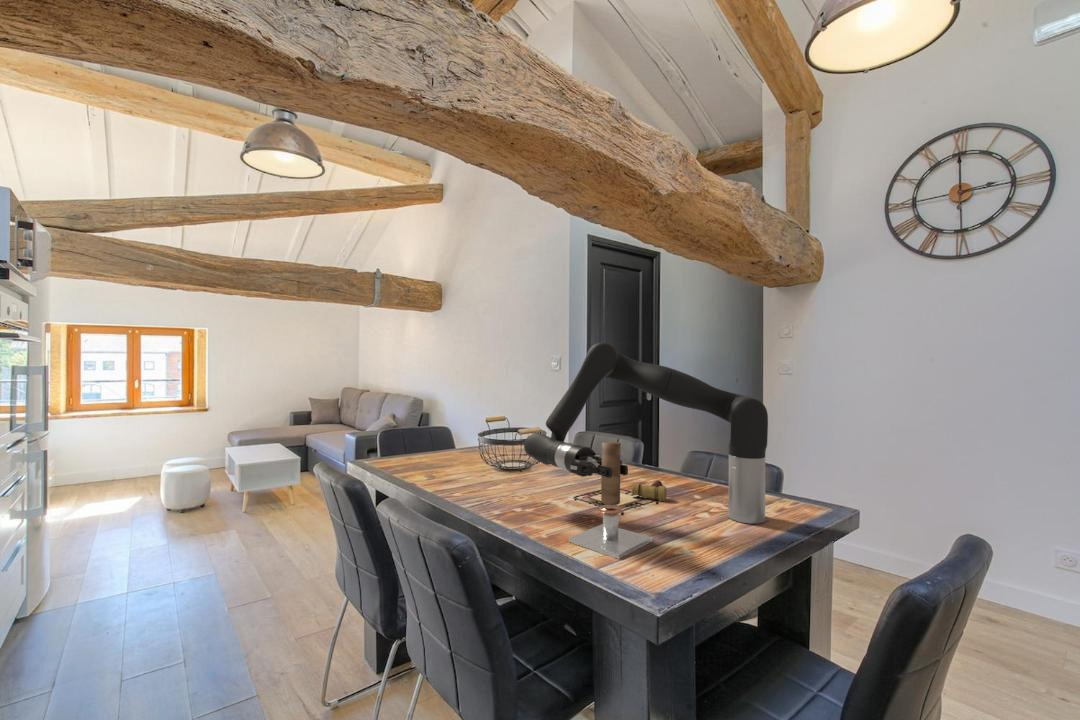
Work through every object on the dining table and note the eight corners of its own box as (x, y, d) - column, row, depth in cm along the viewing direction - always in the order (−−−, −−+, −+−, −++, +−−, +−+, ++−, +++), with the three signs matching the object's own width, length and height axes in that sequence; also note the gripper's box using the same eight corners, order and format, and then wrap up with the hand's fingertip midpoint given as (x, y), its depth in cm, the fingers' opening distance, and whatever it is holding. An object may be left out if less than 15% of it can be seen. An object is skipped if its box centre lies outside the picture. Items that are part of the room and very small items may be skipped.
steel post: (603, 527, 124) (603, 496, 124) (652, 541, 114) (652, 507, 114) (568, 542, 114) (569, 508, 114) (618, 558, 104) (619, 521, 104)
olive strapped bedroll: (645, 474, 170) (674, 477, 166) (645, 487, 170) (674, 491, 166) (631, 484, 151) (664, 487, 147) (631, 499, 151) (664, 503, 147)
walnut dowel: (608, 498, 117) (608, 440, 117) (623, 502, 114) (624, 443, 114) (597, 502, 114) (598, 443, 114) (613, 506, 111) (613, 445, 111)
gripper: (552, 446, 122) (594, 458, 108) (596, 442, 130) (641, 452, 115) (552, 476, 122) (594, 492, 108) (596, 470, 130) (641, 484, 115)
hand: (618, 471), depth 112 cm, fingers closed on walnut dowel, 4 cm apart
